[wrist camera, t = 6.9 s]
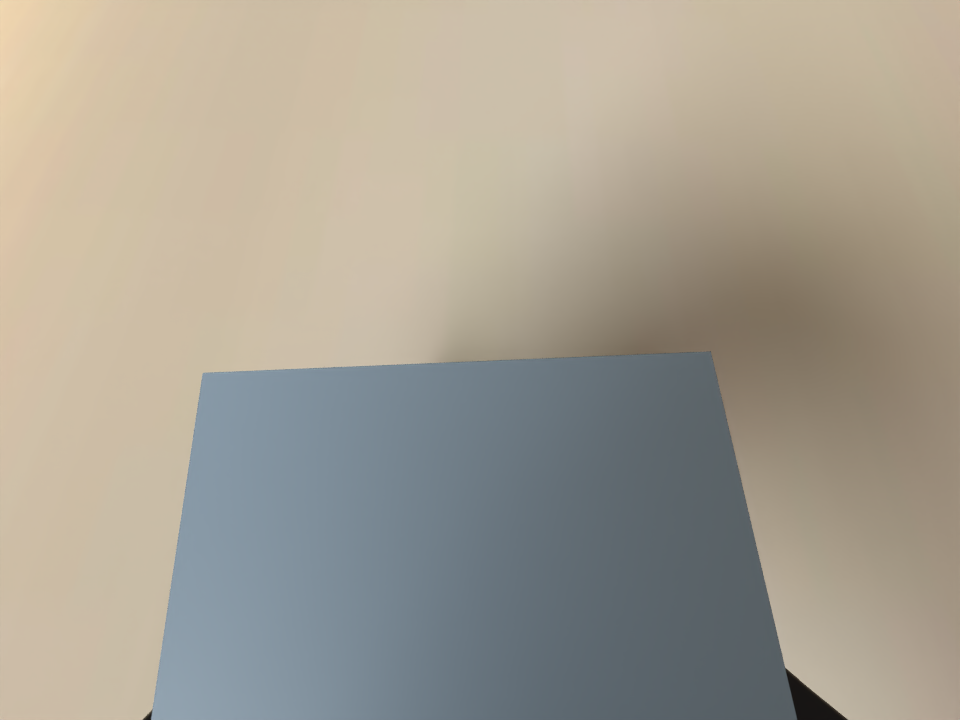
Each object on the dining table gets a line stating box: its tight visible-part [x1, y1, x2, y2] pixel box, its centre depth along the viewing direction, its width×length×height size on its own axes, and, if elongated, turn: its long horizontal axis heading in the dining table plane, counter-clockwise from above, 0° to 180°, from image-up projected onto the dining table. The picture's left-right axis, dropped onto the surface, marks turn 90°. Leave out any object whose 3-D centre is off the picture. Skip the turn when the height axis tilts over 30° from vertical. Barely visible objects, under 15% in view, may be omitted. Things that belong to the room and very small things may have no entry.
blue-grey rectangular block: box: [151, 351, 797, 720], centre depth 9 cm, size 5×4×12 cm
